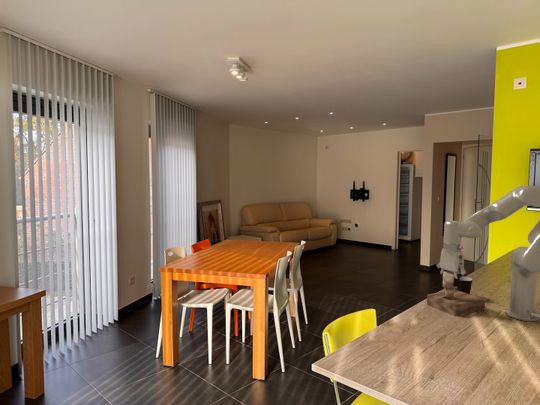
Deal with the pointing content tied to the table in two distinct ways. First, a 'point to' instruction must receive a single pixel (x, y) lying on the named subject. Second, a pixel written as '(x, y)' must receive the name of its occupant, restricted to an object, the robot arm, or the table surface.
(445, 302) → the board
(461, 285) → the coffee mug
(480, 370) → the table surface
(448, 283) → the peg
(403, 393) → the table surface
